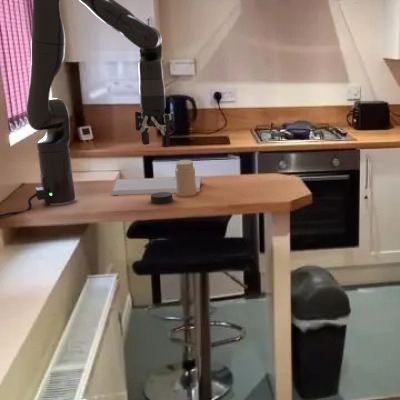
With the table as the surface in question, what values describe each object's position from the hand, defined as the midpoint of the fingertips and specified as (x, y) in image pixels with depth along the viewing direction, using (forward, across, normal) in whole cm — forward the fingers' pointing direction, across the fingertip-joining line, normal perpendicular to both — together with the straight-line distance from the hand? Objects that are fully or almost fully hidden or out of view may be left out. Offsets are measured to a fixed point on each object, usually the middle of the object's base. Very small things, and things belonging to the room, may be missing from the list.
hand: (156, 145), depth 188 cm
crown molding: (+19, -12, +12) cm, 26 cm away
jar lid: (+16, +1, 0) cm, 16 cm away
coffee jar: (+18, +1, +11) cm, 21 cm away
